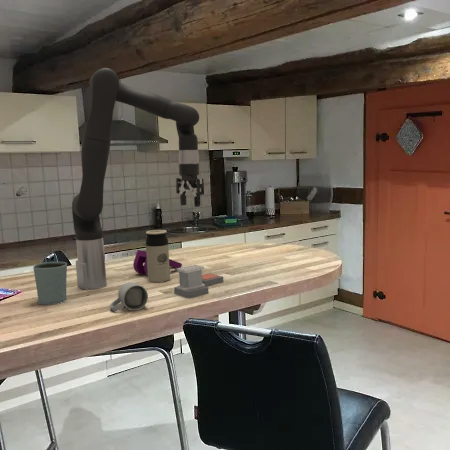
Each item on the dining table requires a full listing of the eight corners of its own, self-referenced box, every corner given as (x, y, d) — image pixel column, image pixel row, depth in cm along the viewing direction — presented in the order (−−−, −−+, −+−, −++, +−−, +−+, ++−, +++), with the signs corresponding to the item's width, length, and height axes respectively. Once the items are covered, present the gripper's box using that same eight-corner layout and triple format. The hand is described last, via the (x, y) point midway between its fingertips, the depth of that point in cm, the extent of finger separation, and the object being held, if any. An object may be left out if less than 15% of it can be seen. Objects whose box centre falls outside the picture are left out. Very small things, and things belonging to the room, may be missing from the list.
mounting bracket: (166, 282, 203) (130, 270, 191) (172, 262, 205) (137, 249, 192) (180, 286, 196) (144, 274, 184) (187, 265, 198) (151, 252, 186)
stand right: (205, 286, 171) (205, 280, 171) (191, 282, 178) (191, 276, 177) (223, 282, 176) (223, 276, 176) (209, 278, 182) (209, 272, 182)
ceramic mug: (140, 301, 157) (138, 277, 156) (149, 308, 150) (147, 283, 149) (106, 308, 152) (104, 283, 151) (114, 315, 145) (112, 289, 144)
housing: (186, 291, 160) (185, 270, 159) (177, 288, 163) (176, 268, 162) (204, 286, 164) (204, 266, 163) (195, 283, 168) (194, 264, 167)
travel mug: (146, 278, 185) (143, 230, 183) (167, 276, 188) (164, 228, 185) (150, 283, 178) (147, 233, 175) (172, 281, 181) (169, 231, 178)
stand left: (188, 298, 159) (188, 292, 158) (174, 293, 165) (174, 287, 164) (208, 293, 164) (208, 287, 163) (194, 288, 170) (193, 282, 169)
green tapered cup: (31, 301, 162) (27, 265, 160) (60, 294, 169) (57, 259, 167) (45, 307, 155) (41, 269, 153) (75, 300, 162) (72, 263, 160)
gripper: (169, 162, 189) (171, 205, 191) (192, 162, 178) (194, 208, 181) (185, 162, 194) (187, 204, 196) (208, 162, 183) (210, 206, 186)
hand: (190, 205), depth 189 cm, fingers open, 8 cm apart
